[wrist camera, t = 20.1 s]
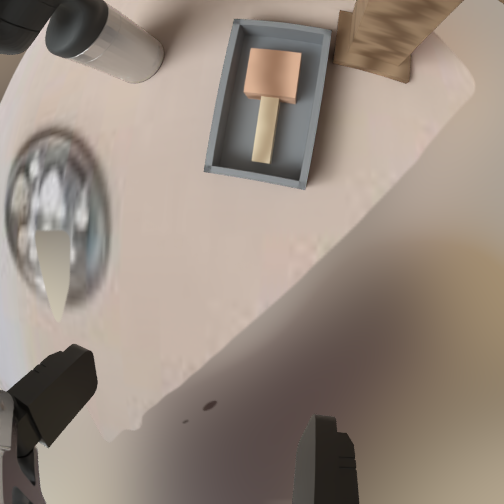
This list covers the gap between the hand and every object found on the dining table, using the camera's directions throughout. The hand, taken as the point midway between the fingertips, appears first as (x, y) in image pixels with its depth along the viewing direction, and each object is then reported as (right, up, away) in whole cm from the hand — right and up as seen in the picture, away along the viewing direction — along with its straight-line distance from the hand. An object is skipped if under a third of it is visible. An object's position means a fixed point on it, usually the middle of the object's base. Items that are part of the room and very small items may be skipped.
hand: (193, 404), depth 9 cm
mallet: (+5, +26, +31) cm, 41 cm away
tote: (+5, +27, +32) cm, 42 cm away
